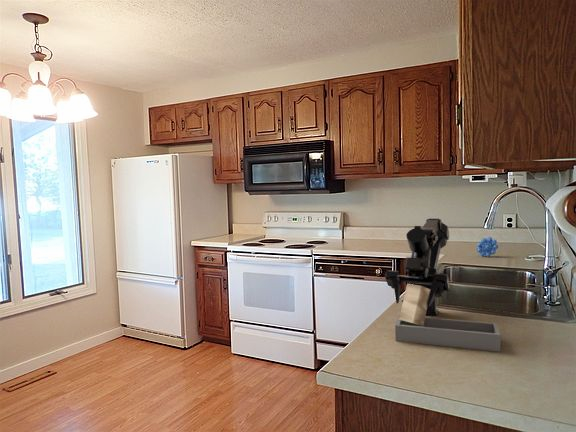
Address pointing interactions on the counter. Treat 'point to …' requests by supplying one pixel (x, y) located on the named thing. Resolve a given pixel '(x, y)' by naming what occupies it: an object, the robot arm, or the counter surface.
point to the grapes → (487, 246)
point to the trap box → (450, 333)
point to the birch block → (415, 304)
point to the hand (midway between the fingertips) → (412, 304)
